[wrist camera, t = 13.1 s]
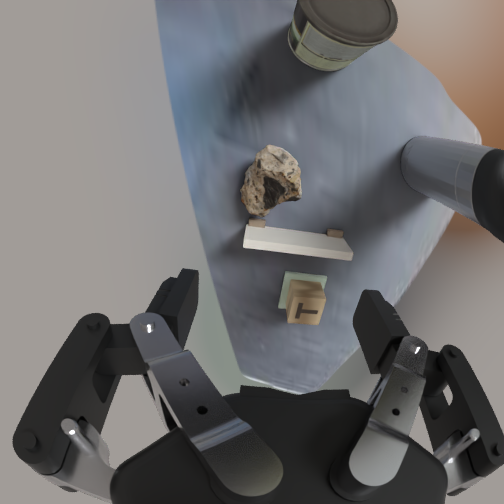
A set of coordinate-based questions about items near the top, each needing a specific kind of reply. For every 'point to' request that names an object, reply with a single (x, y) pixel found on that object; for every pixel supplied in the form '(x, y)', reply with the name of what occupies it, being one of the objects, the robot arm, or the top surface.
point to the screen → (296, 241)
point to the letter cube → (305, 302)
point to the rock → (271, 181)
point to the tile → (297, 276)
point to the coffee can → (339, 30)
